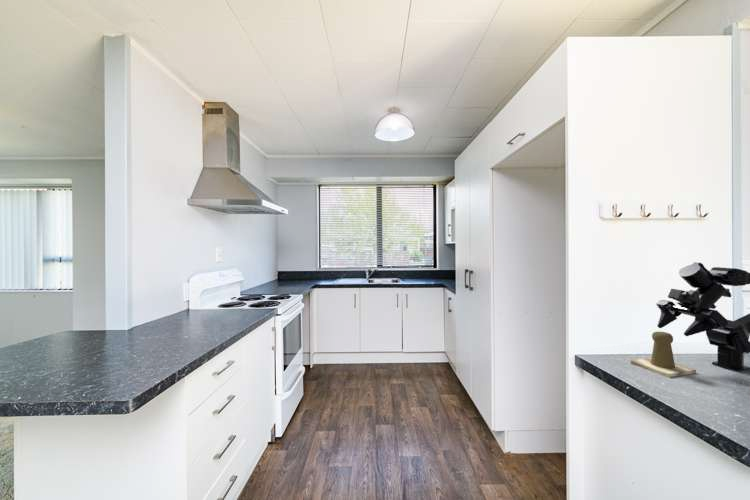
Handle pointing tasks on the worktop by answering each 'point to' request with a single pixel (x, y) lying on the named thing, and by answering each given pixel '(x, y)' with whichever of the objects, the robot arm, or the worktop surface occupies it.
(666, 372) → the birch trivet
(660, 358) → the cork
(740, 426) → the worktop surface
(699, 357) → the worktop surface
